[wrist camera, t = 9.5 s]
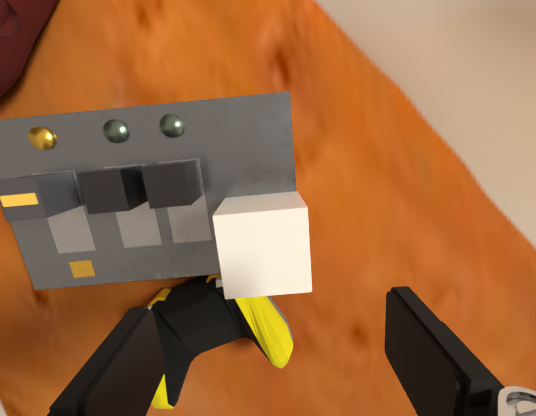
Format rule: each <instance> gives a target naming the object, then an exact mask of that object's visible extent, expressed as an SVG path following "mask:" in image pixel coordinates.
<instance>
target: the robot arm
mask: <svg viewBox="0 0 536 416" xmlns="http://www.w3.org/2000/svg"><path fill="white" fill-rule="evenodd" d="M385 353H386V356H387V358H388V360H389V362H390V364H391V366H392V368H393V370H394V371H395V373H396V375H397V377H398V379H399V381H400V383H401V385H402V386H403V388H404V390H405V392H406V394H407V396H408V398H409V400H410V401H411V403H412V405H413V407H414V409H415V411H416V413H417V414H418V416H536V391H533V390H530V389H527V388H524V387H517V386H510V387H504V386H503V385H502V384H501V383H500V382H499V381H498V380H497V379H496V377H495V376H494V375H493V374H492V373H491V372H490V371H489V370H488V369H487V368H486V367H485V366H484V365H483V364H482V363H481V362H480V360H479V359H478V358H477V357H476V356H475V355H474V354H473V353H472V352H471V351H470V350H469V349H468V348H467V347H466V346H465V345H464V343H463V342H462V341H461V340H460V339H459V338H458V337H457V336H456V335H455V334H454V333H453V332H452V331H451V330H450V329H449V328H448V327H447V325H446V324H444V323H443V322H442V321H440V320H439V319H438V318H437V317H436V316H435V315H434V313H433V312H432V311H431V310H430V309H429V308H428V307H427V306H426V305H425V304H424V303H423V302H422V301H421V300H420V298H419V297H418V296H417V295H416V294H415V293H414V292H413V291H412V290H411V289H410V288H409V287H407V286H404V287H392V288H391V291H390V292H387V295H386V324H385ZM165 367H166V364H165V359H164V355H163V351H162V347H161V343H160V339H159V335H158V331H157V326H156V322H155V318H154V314H153V311H152V310H149V308H148V307H146V306H145V307H133V308H130V309H129V310H128V312H127V313H126V314H125V315H124V317H123V318H122V319H121V320H120V322H119V323H118V324H117V325H116V326H115V328H114V329H113V330H112V331H111V333H110V334H109V335H108V336H107V338H106V339H105V340H104V341H103V342H102V344H101V345H100V346H99V347H98V349H97V350H96V351H95V352H94V354H93V355H92V356H91V357H90V359H89V360H88V361H87V362H86V363H85V365H84V366H83V367H82V368H81V370H80V371H79V372H78V373H77V375H76V376H75V377H74V378H73V379H72V381H71V382H70V383H69V384H68V386H67V387H66V388H65V389H64V391H63V392H62V393H61V394H60V395H59V397H58V398H57V399H56V400H55V402H54V403H53V404H52V405H51V407H50V408H49V409H50V412H49V414H48V415H47V416H146V414H147V411H148V409H149V407H150V405H151V402H152V400H153V398H154V396H155V393H156V391H157V389H158V387H159V384H160V382H161V380H162V377H163V375H164V373H165Z"/></svg>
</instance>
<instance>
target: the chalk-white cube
mask: <svg viewBox="0 0 536 416" xmlns="http://www.w3.org/2000/svg"><path fill="white" fill-rule="evenodd" d="M212 217H213V223H214V230H215V237H216V243H217V250H218V256H219V263H220V270H221V276H222V283H223V289H224V296H225V299H235V298H247V297H258V296H270V295H282V294H293V293H305V292H312V280H311V261H310V243H309V224H308V207H307V206H306V204H305V202H304V201H303V199H302V198H301V196H300V195H299V193H298V191H295V192H284V193H273V194H262V195H251V196H240V197H229V198H225V199H224V200H223V202H222V203H221V204H220V206H219V207H218V209H217V210H216V211H215V213H214V214H213V216H212Z"/></svg>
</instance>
